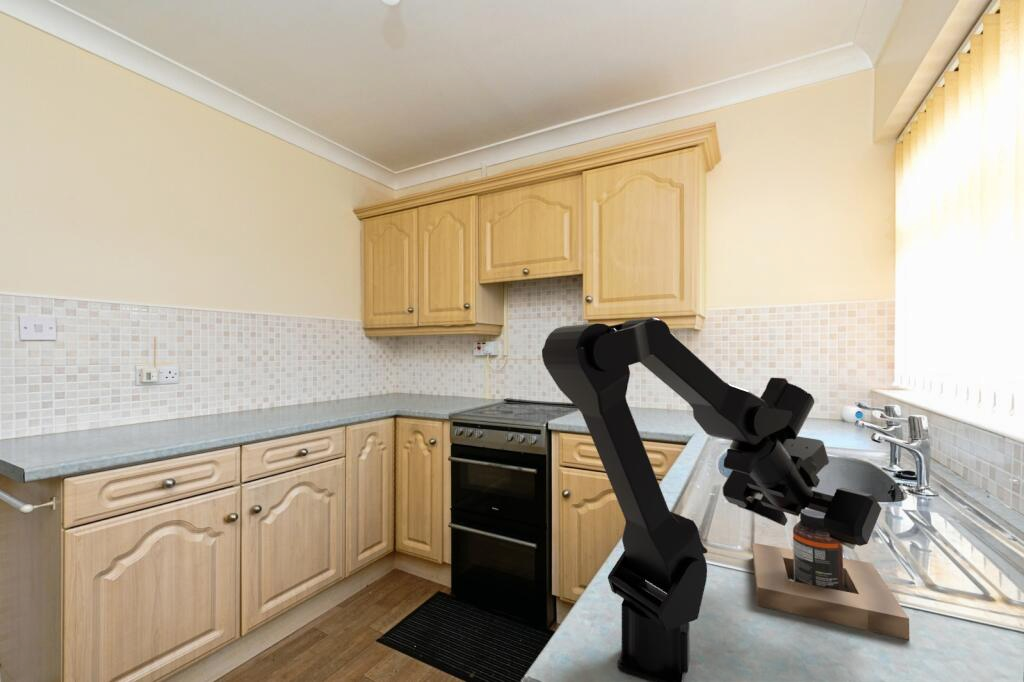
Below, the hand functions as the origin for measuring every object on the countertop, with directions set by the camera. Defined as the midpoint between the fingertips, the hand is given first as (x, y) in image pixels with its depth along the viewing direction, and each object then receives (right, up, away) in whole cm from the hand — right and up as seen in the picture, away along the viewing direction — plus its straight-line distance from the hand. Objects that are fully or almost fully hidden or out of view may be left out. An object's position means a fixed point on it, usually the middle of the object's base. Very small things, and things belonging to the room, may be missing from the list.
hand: (817, 533), depth 65 cm
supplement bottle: (0, -9, 0) cm, 9 cm away
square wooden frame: (0, -8, 0) cm, 8 cm away
